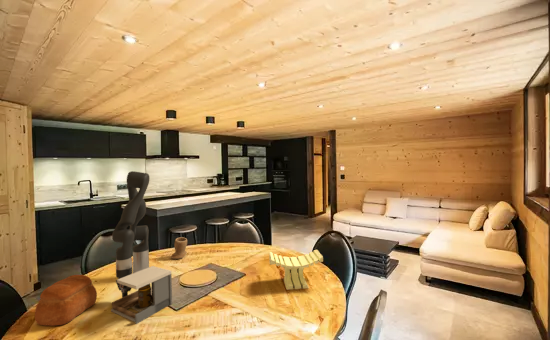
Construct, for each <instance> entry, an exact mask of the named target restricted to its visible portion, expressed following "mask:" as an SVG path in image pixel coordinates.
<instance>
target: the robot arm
mask: <svg viewBox="0 0 550 340" xmlns="http://www.w3.org/2000/svg"><path fill="white" fill-rule="evenodd" d="M149 184H150V175H149V173H147V172H141V171H129V172H128V174H127V176H126V187H127V193H128V203H126V205H124V207H123V210H122V214H121V216H120V220H119V221H118V223H117V224H116V226H115V228H114V230H113V231H112V236H111V238H112V241H113V242H114V243H121V244H122V246H119V247H118V248H117V249H116V250H115V256H116V257H115V276H116V278H118V279H120V278H123V277H125V276H128V275H131V274H133V273H136V272H138V271H141V270H143V269H146V268H149V267H150V252H149V250H150V249H149V231H150V230H149V227H148V226H149V225H145V224H144V225H138V223H139V222H140V221H141V220H142V219H143V217H145V215H146V213H147V204H146V203H147V202H146V201H145V199H144V196H145V195H146V191H147V190H148V186H149ZM128 227H129V228H128ZM137 241H141V242H140V243H138V244H136V245H133V244H134V242H137ZM118 279H116V280H115V283H116V285H117V288H118V290H119V291H120V292H121V298H123V297H125V296H127V295H129V294H128V293H129V292H131V291H132V289H133V288H131V287H128V286H125V285H122V284H119V283H117V280H118Z"/></svg>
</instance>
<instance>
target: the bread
mask: <svg viewBox="0 0 550 340" xmlns="http://www.w3.org/2000/svg"><path fill="white" fill-rule="evenodd" d="M97 295H98V293H97V289H96V287H95V286H94V285H93V280H92V279H91V277H90V276H88V275H85V274H73V275H68V276H67V277H66V278H63V279H60V280H58V281H56V282H54V283H53V284H51V285H50V286H48V287H45V289H44V290H43V291H42V292H41V294H40V296H39V298H40V299H39V300H38V302H37V304H36V306H35V310H34V320H35V323H36V324H37V325H40V326H45V327H46V326H49V327H51V326H54V327H55V326H62V325H66V324H68V323H70V322H71V321H73V320H74V319H75V318H76V317H77V316H79V315H81V314H82V313H84V311H86V310H88V309H89V308H91V307H92V306H93V305H95V304H96V301H97V298H98V297H97Z"/></svg>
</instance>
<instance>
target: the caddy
mask: <svg viewBox="0 0 550 340" xmlns="http://www.w3.org/2000/svg"><path fill="white" fill-rule="evenodd" d="M151 301H153V302H154V297H153V295H152V294H151ZM137 304H138V290H136V291H134V292H131V293H129V294H128V295H127V296H125V297H123V298H122V297H121V298H119V299H116V300H114V301H112V302H111V309H114V310H117V311H119V312H121V313H123V314H126V315H128V316H130V317H132V318H135V314H137V313H136V312H133V311H132V310H130V309H131V308H132V307H133V306H135V305H137Z"/></svg>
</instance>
